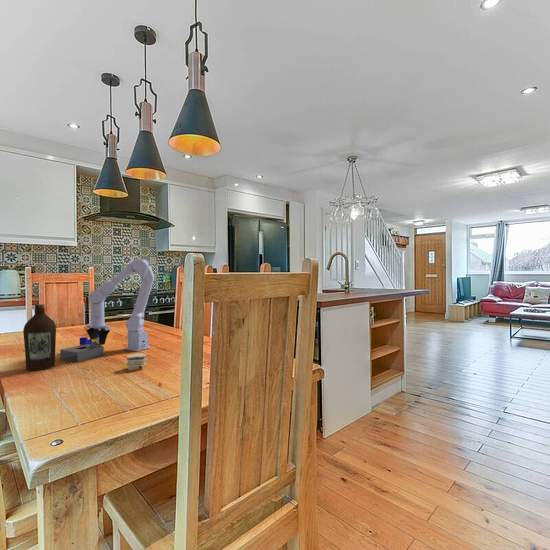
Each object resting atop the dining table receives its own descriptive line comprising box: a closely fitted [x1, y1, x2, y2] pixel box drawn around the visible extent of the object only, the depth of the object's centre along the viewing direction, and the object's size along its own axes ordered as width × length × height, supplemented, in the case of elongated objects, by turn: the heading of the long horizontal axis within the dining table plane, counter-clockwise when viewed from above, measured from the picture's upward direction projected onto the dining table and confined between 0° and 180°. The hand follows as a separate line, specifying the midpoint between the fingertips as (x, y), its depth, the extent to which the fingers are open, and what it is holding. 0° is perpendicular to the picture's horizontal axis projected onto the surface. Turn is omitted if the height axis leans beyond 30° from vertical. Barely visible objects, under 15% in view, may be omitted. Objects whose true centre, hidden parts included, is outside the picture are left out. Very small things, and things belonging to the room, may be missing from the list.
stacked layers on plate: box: [125, 352, 148, 371], centre depth 127 cm, size 10×9×6 cm
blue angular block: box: [79, 335, 99, 345], centre depth 164 cm, size 12×4×6 cm, turn 0°
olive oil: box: [22, 303, 57, 372], centre depth 129 cm, size 11×11×25 cm
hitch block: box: [59, 344, 105, 363], centre depth 145 cm, size 12×12×4 cm
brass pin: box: [91, 338, 102, 346], centre depth 157 cm, size 6×6×6 cm
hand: (98, 343), depth 157 cm, fingers closed on brass pin, 6 cm apart
